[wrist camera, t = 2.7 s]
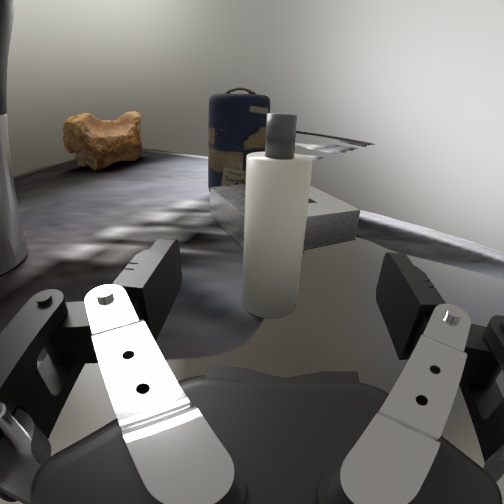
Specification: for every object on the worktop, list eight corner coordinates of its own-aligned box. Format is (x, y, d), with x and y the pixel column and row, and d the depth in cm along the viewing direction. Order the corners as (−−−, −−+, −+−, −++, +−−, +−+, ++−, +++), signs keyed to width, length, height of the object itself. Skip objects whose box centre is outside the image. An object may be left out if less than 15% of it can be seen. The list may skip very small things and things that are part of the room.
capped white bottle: (257, 324, 24) (268, 115, 17) (234, 293, 28) (237, 111, 21) (306, 310, 26) (329, 118, 19) (279, 282, 29) (292, 113, 22)
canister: (239, 185, 58) (242, 89, 50) (277, 197, 53) (283, 89, 44) (196, 195, 52) (196, 87, 44) (234, 209, 46) (237, 85, 38)
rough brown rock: (65, 182, 65) (61, 121, 58) (64, 166, 77) (62, 115, 70) (153, 169, 77) (155, 112, 70) (139, 155, 89) (140, 107, 81)
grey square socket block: (254, 260, 33) (256, 224, 31) (210, 215, 44) (210, 187, 42) (355, 239, 39) (360, 209, 37) (295, 204, 50) (297, 179, 48)
